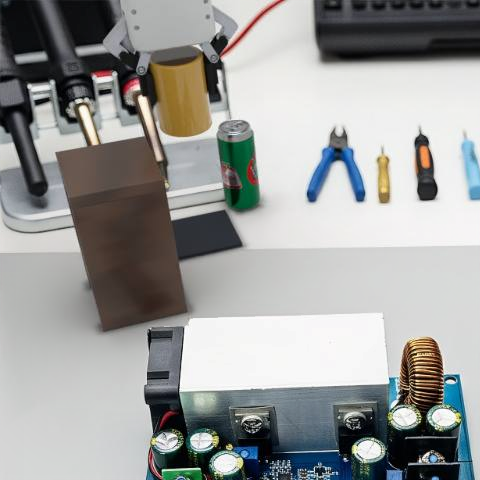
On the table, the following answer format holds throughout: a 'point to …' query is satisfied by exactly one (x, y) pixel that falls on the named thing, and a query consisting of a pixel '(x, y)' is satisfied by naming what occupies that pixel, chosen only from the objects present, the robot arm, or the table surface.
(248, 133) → the soda can
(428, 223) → the table surface
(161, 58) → the cup
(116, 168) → the tall brown wooden block
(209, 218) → the mat
